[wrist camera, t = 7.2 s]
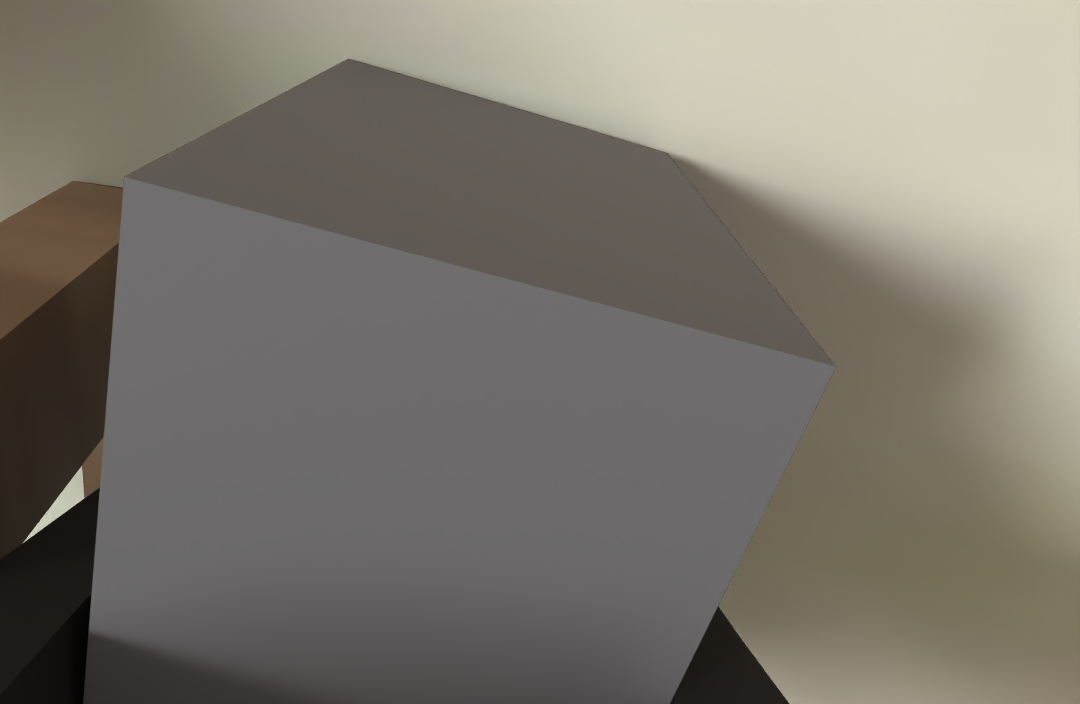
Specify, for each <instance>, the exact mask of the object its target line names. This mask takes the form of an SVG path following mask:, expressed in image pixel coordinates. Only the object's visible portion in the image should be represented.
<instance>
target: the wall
mask: <svg viewBox="0 0 1080 704" xmlns="http://www.w3.org/2000/svg"><path fill="white" fill-rule="evenodd" d="M122 199H123V189H122V188H116V187H109V186H102V185H95V184H88V183H81V182H75V181H72V182H70V183H69V184H67V185H65V186H63V187H62V188H60V189H58V190H56V191H55V192H53V193H51V194H50V195H48V196H46V197H44V198H43V199H41V200H39V201H37V202H36V203H34V204H32V205H30V206H29V207H27V208H25V209H23V210H22V211H20V212H18V213H16V214H15V215H13V216H11V217H9V218H8V219H6V220H4V221H2V222H1V223H0V559H1V558H3V557H4V556H5V555H7V554H8V553H10V552H11V551H13V550H14V549H15V548H17V547H18V546H20V545H21V544H22V543H23V542H24V541H25V539H26V538H27V537H28V535H29V534H30V533H31V531H32V530H33V529H34V527H35V526H36V525H37V524H38V522H39V521H40V520H41V518H42V517H43V516H44V514H45V513H46V512H47V510H48V509H49V508H50V507H51V505H52V504H53V503H54V501H55V500H56V499H57V497H58V496H59V495H60V493H61V492H62V491H63V489H64V488H65V487H66V486H67V484H68V483H69V482H70V480H71V479H72V478H73V476H74V475H75V474H76V472H77V471H78V470H79V469H80V467H81V466H82V470H83V483H84V497H85V498H86V497H87V496H89V495H90V494H91V493H93V492H94V491H95V490H97V489H98V488H99V487H100V480H101V467H102V455H103V442H104V429H105V416H106V403H107V391H108V378H109V365H110V352H111V339H112V327H113V314H114V301H115V288H116V275H117V263H118V250H119V237H120V224H121V211H122Z"/></svg>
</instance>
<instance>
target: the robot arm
mask: <svg viewBox="0 0 1080 704" xmlns="http://www.w3.org/2000/svg"><path fill="white" fill-rule="evenodd" d="M99 493H100V487H99V488H98V489H97V490H95V491H94V492H93V493H91V494H90V495H89V496H87V497H86V498H84V499H83V500H82V501H80V502H79V503H78V504H76V505H75V506H74V507H72V508H71V509H69V510H68V511H67V512H65V513H64V514H63V515H61V516H60V517H58V518H57V519H56V520H54V521H53V522H52V523H50V524H49V525H47V526H46V527H45V528H43V529H42V530H41V531H39V532H38V533H36V534H35V535H34V536H32V537H31V538H30V539H28V540H27V541H25V542H24V543H23V544H21V545H20V546H18V547H17V548H15V549H14V550H13V551H11V552H10V553H8V554H7V555H5V556H4V557H3V558H1V559H0V704H83V698H84V685H85V672H86V659H87V646H88V634H89V621H90V608H91V595H92V583H93V570H94V557H95V544H96V531H97V519H98V506H99ZM670 704H789V703H788V701H787V700H786V699H785V697H784V696H783V695H782V693H781V692H780V691H779V689H778V688H777V687H776V685H775V684H774V683H773V681H772V680H771V678H770V677H769V676H768V674H767V673H766V672H765V670H764V669H763V668H762V666H761V665H760V664H759V662H758V661H757V660H756V658H755V657H754V656H753V654H752V653H751V651H750V650H749V649H748V647H747V646H746V645H745V643H744V642H743V641H742V639H741V638H740V636H739V635H738V634H737V632H736V631H735V629H734V628H733V627H732V625H731V624H730V622H729V621H728V619H727V618H726V617H725V615H724V614H723V612H722V611H721V609H720V608H719V606H718V607H717V609H716V611H715V613H714V615H713V617H712V619H711V621H710V623H709V625H708V627H707V629H706V632H705V634H704V636H703V638H702V640H701V642H700V644H699V646H698V648H697V650H696V652H695V654H694V656H693V658H692V660H691V662H690V664H689V666H688V668H687V670H686V672H685V674H684V676H683V678H682V680H681V682H680V684H679V686H678V688H677V690H676V692H675V694H674V696H673V698H672V701H671V703H670Z"/></svg>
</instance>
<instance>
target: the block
mask: <svg viewBox="0 0 1080 704" xmlns="http://www.w3.org/2000/svg"><path fill="white" fill-rule="evenodd" d="M835 368H836V366H835V364H834V363H833V362H832V361H831V359H830V358H829V357H828V356H827V354H826V353H825V352H824V351H823V349H822V348H821V347H820V345H819V344H818V343H817V342H816V340H815V339H814V338H813V337H812V335H811V334H810V333H809V332H808V330H807V329H806V328H805V326H804V325H803V324H802V323H801V321H800V320H799V319H798V318H797V316H796V315H795V314H794V313H793V311H792V310H791V309H790V307H789V306H788V305H787V304H786V302H785V301H784V300H783V299H782V297H781V296H780V295H779V294H778V292H777V291H776V290H775V288H774V287H773V286H772V285H771V283H770V282H769V281H768V280H767V278H766V277H765V276H764V275H763V273H762V272H761V271H760V269H759V268H758V267H757V266H756V264H755V263H754V262H753V261H752V259H751V258H750V257H749V256H748V254H747V253H746V252H745V251H744V249H743V248H742V247H741V245H740V244H739V243H738V242H737V240H736V239H735V238H734V237H733V235H732V234H731V233H730V232H729V230H728V229H727V228H726V226H725V225H724V224H723V223H722V221H721V220H720V219H719V218H718V216H717V215H716V214H715V213H714V211H713V210H712V209H711V207H710V206H709V205H708V204H707V202H706V201H705V200H704V199H703V197H702V196H701V195H700V194H699V192H698V191H697V190H696V188H695V187H694V186H693V185H692V183H691V182H690V181H689V180H688V178H687V177H686V176H685V175H684V173H683V172H682V171H681V169H680V168H679V167H678V166H677V164H676V163H675V162H674V161H673V159H672V158H671V157H670V156H669V154H668V153H665V152H661V151H658V150H655V149H651V148H648V147H645V146H641V145H638V144H634V143H631V142H628V141H624V140H621V139H618V138H614V137H611V136H607V135H604V134H601V133H597V132H594V131H591V130H587V129H584V128H580V127H577V126H574V125H570V124H567V123H564V122H560V121H557V120H553V119H550V118H547V117H543V116H540V115H537V114H533V113H530V112H526V111H523V110H520V109H516V108H513V107H510V106H506V105H503V104H499V103H496V102H493V101H489V100H486V99H483V98H479V97H476V96H472V95H469V94H466V93H462V92H459V91H456V90H452V89H449V88H445V87H442V86H439V85H435V84H432V83H429V82H425V81H422V80H418V79H415V78H412V77H408V76H405V75H402V74H398V73H395V72H391V71H388V70H385V69H381V68H378V67H375V66H371V65H368V64H365V63H361V62H358V61H354V60H351V59H347V60H345V61H343V62H341V63H339V64H338V65H336V66H334V67H332V68H330V69H328V70H326V71H324V72H322V73H320V74H319V75H317V76H315V77H313V78H311V79H309V80H307V81H305V82H303V83H301V84H300V85H298V86H296V87H294V88H292V89H290V90H288V91H286V92H284V93H282V94H281V95H279V96H277V97H275V98H273V99H271V100H269V101H267V102H265V103H263V104H262V105H260V106H258V107H256V108H254V109H252V110H250V111H248V112H246V113H245V114H243V115H241V116H239V117H237V118H235V119H233V120H231V121H229V122H227V123H226V124H224V125H222V126H220V127H218V128H216V129H214V130H212V131H210V132H208V133H207V134H205V135H203V136H201V137H199V138H197V139H195V140H193V141H191V142H189V143H188V144H186V145H184V146H182V147H180V148H178V149H176V150H174V151H172V152H170V153H169V154H167V155H165V156H163V157H161V158H159V159H157V160H155V161H153V162H152V163H150V164H148V165H146V166H144V167H142V168H140V169H138V170H136V171H134V172H133V173H131V174H129V175H127V176H125V177H124V186H123V199H122V211H121V224H120V237H119V250H118V263H117V275H116V288H115V301H114V314H113V327H112V339H111V352H110V365H109V378H108V391H107V403H106V416H105V429H104V442H103V455H102V467H101V480H100V493H99V506H98V519H97V531H96V544H95V557H94V570H93V583H92V595H91V608H90V621H89V634H88V646H87V659H86V672H85V685H84V698H83V704H670V703H671V701H672V698H673V696H674V694H675V692H676V690H677V688H678V686H679V684H680V682H681V680H682V678H683V676H684V674H685V672H686V670H687V668H688V666H689V664H690V662H691V660H692V658H693V656H694V654H695V652H696V650H697V648H698V646H699V644H700V642H701V640H702V638H703V636H704V634H705V632H706V629H707V627H708V625H709V623H710V621H711V619H712V617H713V615H714V613H715V611H716V609H717V607H718V605H719V603H720V601H721V599H722V597H723V595H724V593H725V591H726V589H727V587H728V585H729V583H730V581H731V579H732V577H733V575H734V573H735V571H736V569H737V567H738V565H739V563H740V560H741V558H742V556H743V554H744V552H745V550H746V548H747V546H748V544H749V542H750V540H751V538H752V536H753V534H754V532H755V530H756V528H757V526H758V524H759V522H760V520H761V518H762V516H763V514H764V512H765V510H766V508H767V506H768V504H769V502H770V500H771V498H772V496H773V494H774V491H775V489H776V487H777V485H778V483H779V481H780V479H781V477H782V475H783V473H784V471H785V469H786V467H787V465H788V463H789V461H790V459H791V457H792V455H793V453H794V451H795V449H796V447H797V445H798V443H799V441H800V439H801V437H802V435H803V433H804V431H805V429H806V427H807V425H808V422H809V420H810V418H811V416H812V414H813V412H814V410H815V408H816V406H817V404H818V402H819V400H820V398H821V396H822V394H823V392H824V390H825V388H826V386H827V384H828V382H829V380H830V378H831V376H832V374H833V372H834V370H835Z"/></svg>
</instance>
